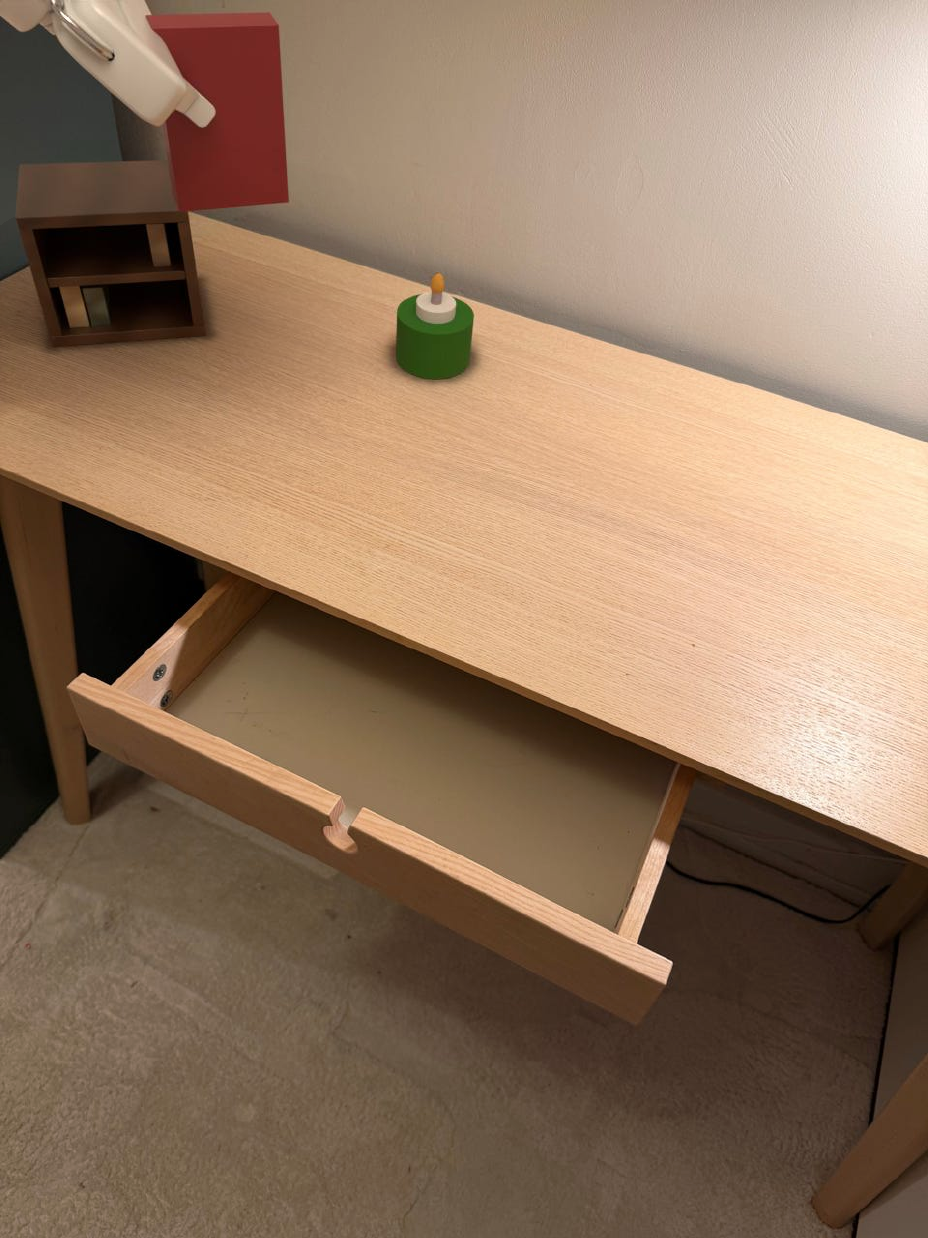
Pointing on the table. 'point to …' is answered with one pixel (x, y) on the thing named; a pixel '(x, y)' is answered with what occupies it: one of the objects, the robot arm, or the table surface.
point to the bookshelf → (109, 252)
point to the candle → (434, 333)
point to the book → (227, 111)
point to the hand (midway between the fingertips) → (203, 105)
